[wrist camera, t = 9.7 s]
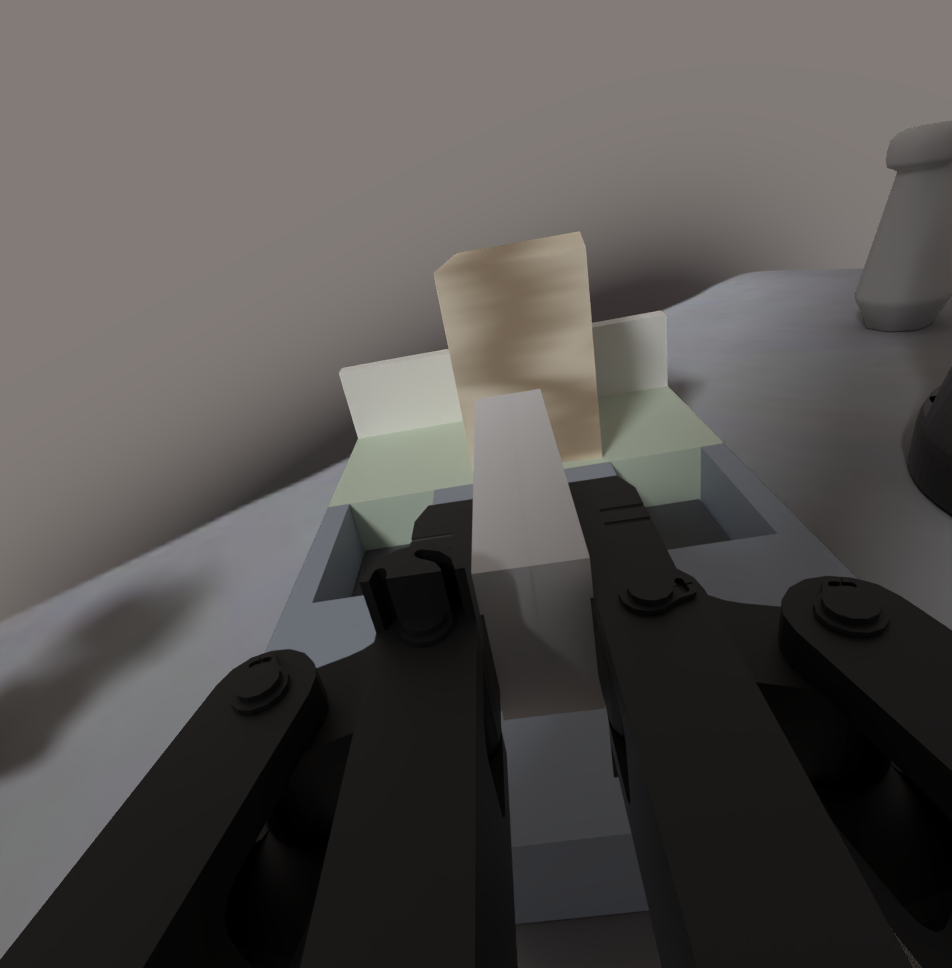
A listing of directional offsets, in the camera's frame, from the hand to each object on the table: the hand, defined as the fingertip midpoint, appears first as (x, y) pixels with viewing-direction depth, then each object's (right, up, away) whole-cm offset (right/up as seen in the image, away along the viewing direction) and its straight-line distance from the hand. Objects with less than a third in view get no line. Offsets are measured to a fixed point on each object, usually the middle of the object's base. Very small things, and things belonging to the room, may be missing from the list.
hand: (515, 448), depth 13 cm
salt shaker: (+31, +11, +30) cm, 44 cm away
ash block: (+2, +1, +15) cm, 16 cm away
